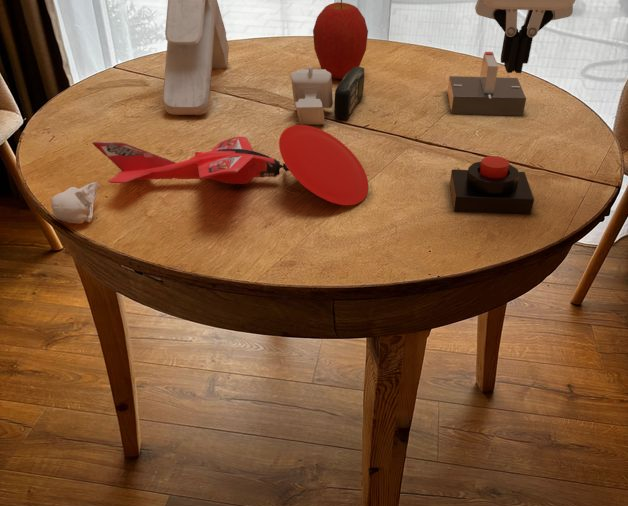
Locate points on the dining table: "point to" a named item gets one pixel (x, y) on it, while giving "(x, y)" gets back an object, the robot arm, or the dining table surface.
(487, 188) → the button block
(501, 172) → the button
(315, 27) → the apple
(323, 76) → the white blocky device
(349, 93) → the mobile phone
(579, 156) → the dining table surface
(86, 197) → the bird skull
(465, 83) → the base
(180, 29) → the leaning slabs
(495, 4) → the robot arm
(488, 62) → the tap handle
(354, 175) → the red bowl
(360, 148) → the dining table surface
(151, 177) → the toy airplane
